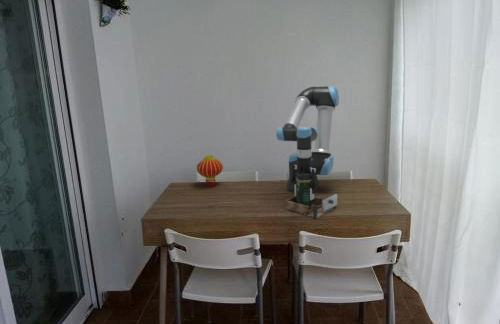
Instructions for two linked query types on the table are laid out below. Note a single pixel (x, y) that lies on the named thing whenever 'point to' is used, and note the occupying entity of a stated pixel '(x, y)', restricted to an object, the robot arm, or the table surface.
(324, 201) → the grey flat panel
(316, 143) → the robot arm
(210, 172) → the lantern
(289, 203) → the open wooden box
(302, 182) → the coffee jar
